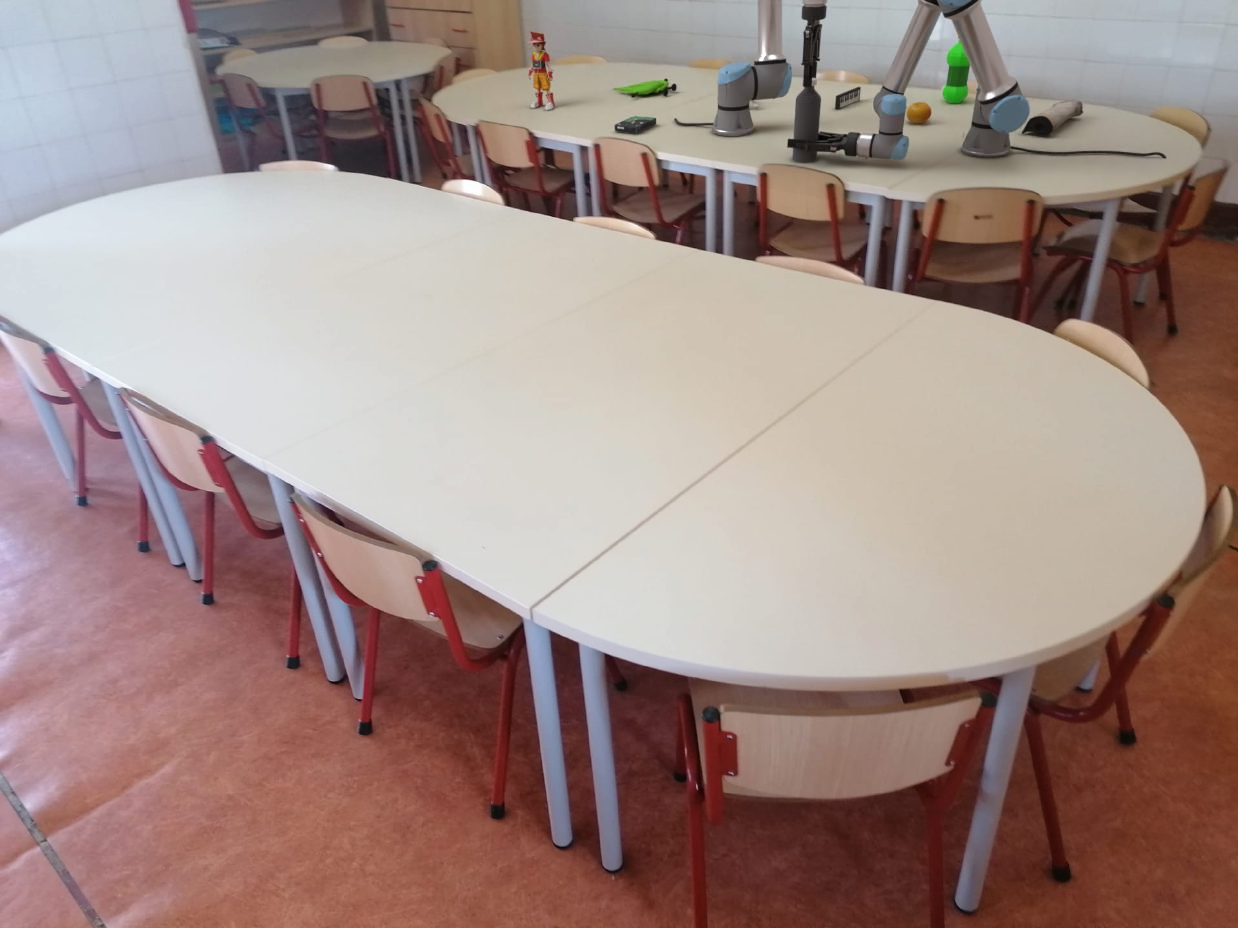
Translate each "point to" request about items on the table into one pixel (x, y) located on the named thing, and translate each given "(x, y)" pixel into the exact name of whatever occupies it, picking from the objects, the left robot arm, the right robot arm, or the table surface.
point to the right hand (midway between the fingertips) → (792, 139)
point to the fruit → (919, 112)
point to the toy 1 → (541, 71)
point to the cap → (813, 82)
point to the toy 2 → (648, 88)
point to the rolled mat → (1053, 118)
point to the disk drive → (635, 124)
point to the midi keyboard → (847, 97)
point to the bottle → (806, 122)
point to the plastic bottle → (956, 75)
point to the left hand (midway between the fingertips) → (809, 85)
